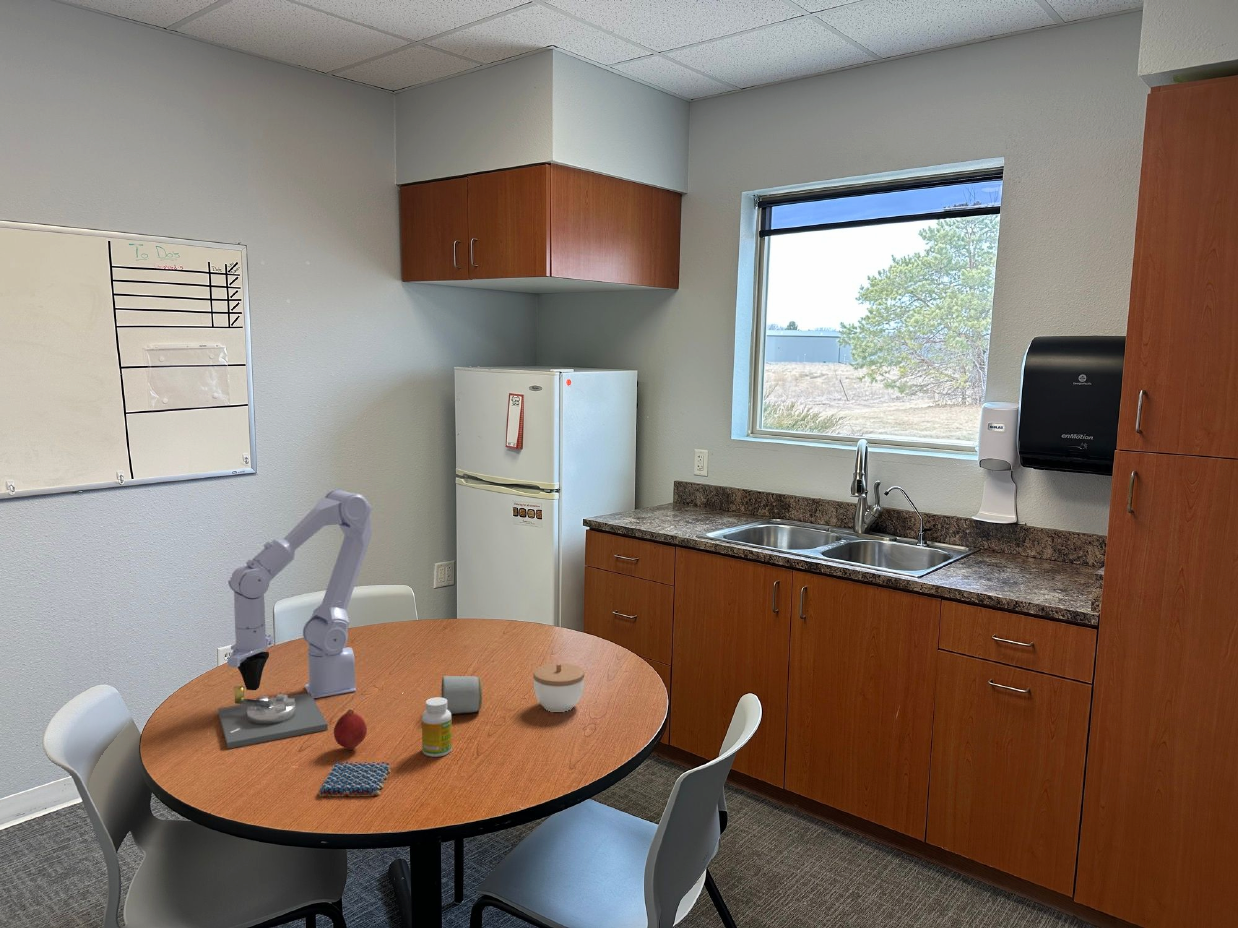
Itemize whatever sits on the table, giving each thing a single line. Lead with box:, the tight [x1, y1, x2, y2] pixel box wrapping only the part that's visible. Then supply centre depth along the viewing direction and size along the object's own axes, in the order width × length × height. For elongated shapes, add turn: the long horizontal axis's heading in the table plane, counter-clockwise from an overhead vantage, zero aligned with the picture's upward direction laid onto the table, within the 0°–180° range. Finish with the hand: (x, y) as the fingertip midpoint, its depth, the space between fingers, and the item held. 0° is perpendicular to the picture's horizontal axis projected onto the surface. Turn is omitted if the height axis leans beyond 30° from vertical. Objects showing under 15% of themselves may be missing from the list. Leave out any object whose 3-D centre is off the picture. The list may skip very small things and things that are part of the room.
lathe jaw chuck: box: [233, 685, 296, 725], centre depth 174 cm, size 12×9×5 cm
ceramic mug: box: [440, 675, 483, 715], centre depth 182 cm, size 11×8×8 cm
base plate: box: [217, 692, 329, 750], centre depth 174 cm, size 18×18×1 cm
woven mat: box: [317, 761, 392, 798], centre depth 150 cm, size 10×11×2 cm
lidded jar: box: [532, 662, 585, 713], centre depth 183 cm, size 11×11×9 cm
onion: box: [333, 708, 368, 751], centre depth 162 cm, size 6×6×8 cm
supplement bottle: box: [421, 696, 453, 758], centre depth 162 cm, size 5×5×10 cm
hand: (252, 688), depth 180 cm, fingers closed
